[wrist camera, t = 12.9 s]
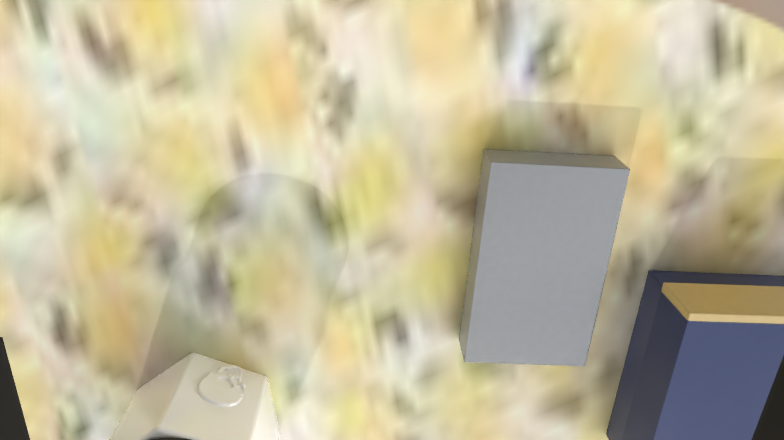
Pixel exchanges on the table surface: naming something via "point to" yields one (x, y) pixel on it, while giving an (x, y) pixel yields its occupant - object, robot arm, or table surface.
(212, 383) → the jar
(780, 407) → the robot arm
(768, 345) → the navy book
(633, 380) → the navy stack
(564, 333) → the grey stack
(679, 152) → the table surface
